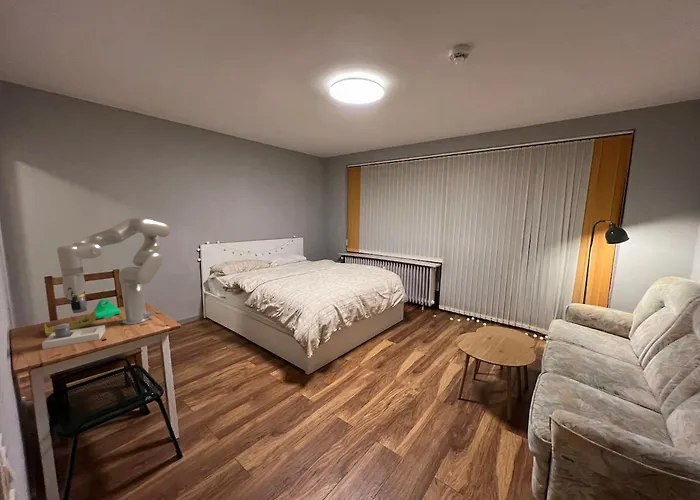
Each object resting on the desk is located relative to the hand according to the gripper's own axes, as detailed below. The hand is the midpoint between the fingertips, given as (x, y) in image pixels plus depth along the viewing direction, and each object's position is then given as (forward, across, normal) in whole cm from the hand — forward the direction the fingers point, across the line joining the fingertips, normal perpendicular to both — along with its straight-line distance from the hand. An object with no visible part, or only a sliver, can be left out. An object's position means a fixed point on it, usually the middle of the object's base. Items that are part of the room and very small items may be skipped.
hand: (79, 307), depth 138 cm
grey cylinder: (+16, 0, -8) cm, 18 cm away
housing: (+17, 0, -4) cm, 17 cm away
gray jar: (+2, 0, 0) cm, 2 cm away
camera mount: (+18, -35, -3) cm, 39 cm away
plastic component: (+17, -17, -12) cm, 27 cm away
